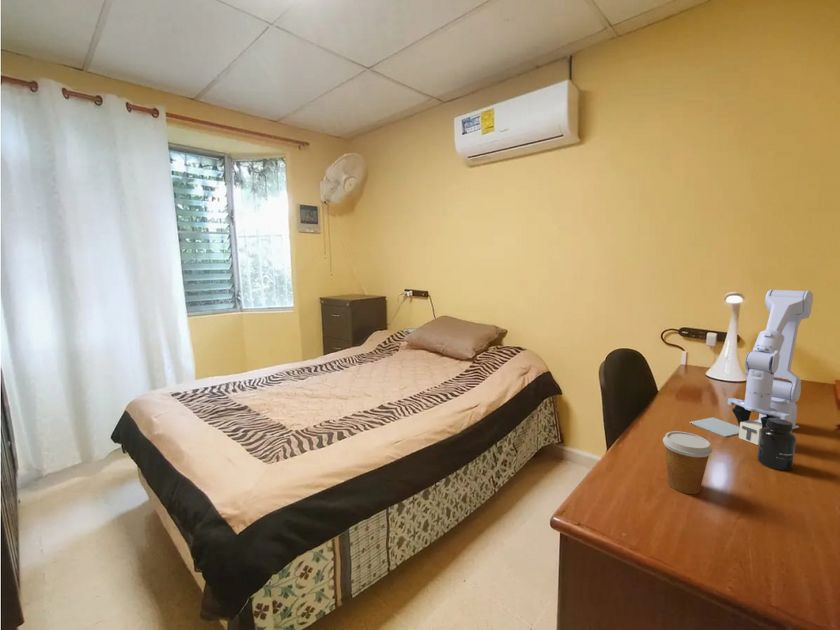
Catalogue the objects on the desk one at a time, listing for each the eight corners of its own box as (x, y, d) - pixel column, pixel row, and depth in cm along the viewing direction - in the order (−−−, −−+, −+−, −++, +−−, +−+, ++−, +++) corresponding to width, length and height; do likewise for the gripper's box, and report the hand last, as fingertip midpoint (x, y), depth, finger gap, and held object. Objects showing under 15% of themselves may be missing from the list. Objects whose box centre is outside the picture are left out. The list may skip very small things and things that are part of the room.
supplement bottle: (785, 474, 94) (791, 428, 92) (752, 461, 100) (756, 419, 98) (797, 467, 97) (802, 423, 96) (764, 455, 103) (768, 413, 102)
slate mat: (712, 418, 128) (712, 417, 128) (749, 431, 118) (749, 430, 118) (689, 422, 125) (689, 422, 125) (725, 437, 114) (725, 436, 114)
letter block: (749, 435, 115) (751, 419, 114) (769, 442, 110) (770, 426, 110) (738, 437, 113) (739, 422, 113) (757, 445, 109) (759, 429, 108)
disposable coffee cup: (710, 503, 83) (715, 453, 82) (660, 490, 88) (663, 442, 87) (705, 482, 91) (710, 435, 90) (659, 471, 96) (662, 427, 95)
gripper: (722, 386, 115) (718, 427, 117) (780, 401, 102) (774, 448, 104) (738, 383, 118) (734, 424, 120) (796, 398, 104) (790, 444, 106)
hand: (754, 435), depth 112 cm, fingers closed on letter block, 5 cm apart
